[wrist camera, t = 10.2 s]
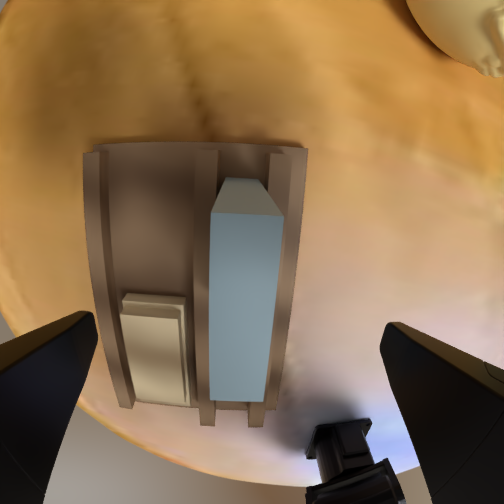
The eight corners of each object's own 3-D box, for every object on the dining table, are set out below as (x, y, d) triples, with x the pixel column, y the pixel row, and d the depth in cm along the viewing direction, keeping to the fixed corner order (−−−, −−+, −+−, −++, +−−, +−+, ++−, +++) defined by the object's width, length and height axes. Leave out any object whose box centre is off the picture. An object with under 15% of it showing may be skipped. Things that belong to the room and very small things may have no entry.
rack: (274, 402, 26) (278, 430, 23) (127, 392, 25) (118, 418, 22) (304, 148, 19) (318, 148, 16) (99, 144, 18) (75, 145, 15)
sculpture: (454, 105, 18) (557, 101, 8) (359, -14, 15) (426, -85, 5) (506, 53, 16) (585, 43, 6) (430, -46, 13) (493, -90, 3)
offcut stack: (191, 396, 24) (188, 416, 22) (143, 391, 24) (137, 410, 22) (185, 297, 21) (180, 314, 19) (127, 292, 21) (116, 308, 19)
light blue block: (250, 283, 21) (263, 401, 11) (221, 281, 21) (209, 400, 11) (258, 178, 19) (284, 216, 8) (225, 177, 19) (211, 212, 8)
